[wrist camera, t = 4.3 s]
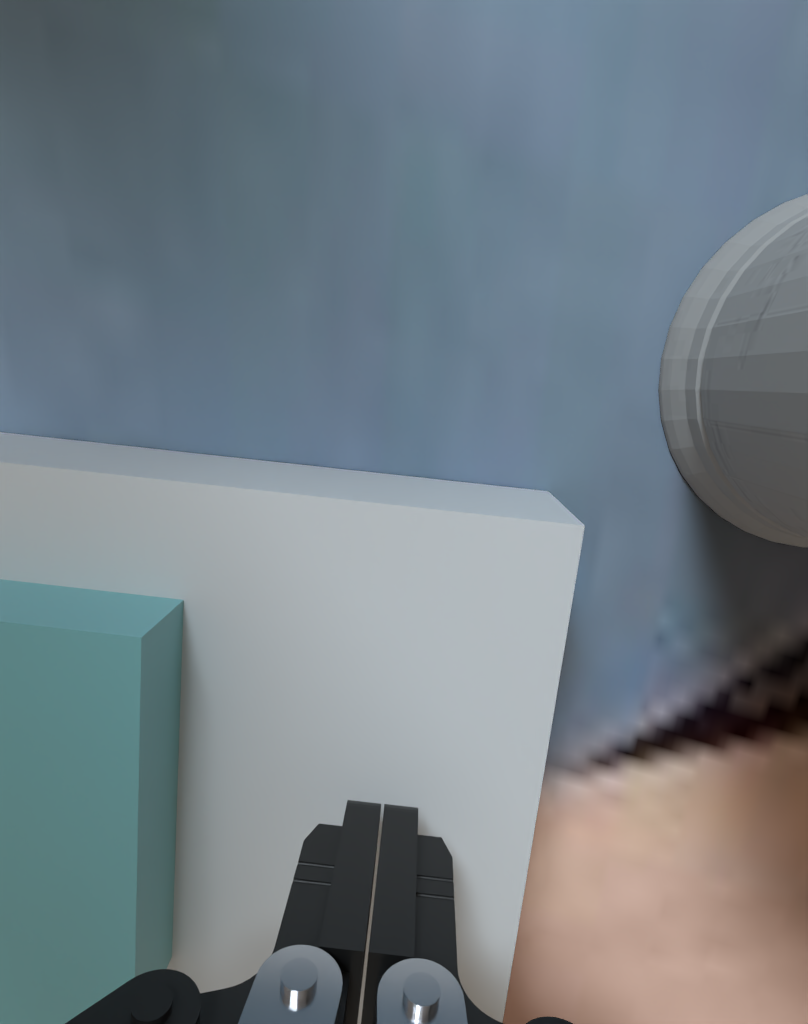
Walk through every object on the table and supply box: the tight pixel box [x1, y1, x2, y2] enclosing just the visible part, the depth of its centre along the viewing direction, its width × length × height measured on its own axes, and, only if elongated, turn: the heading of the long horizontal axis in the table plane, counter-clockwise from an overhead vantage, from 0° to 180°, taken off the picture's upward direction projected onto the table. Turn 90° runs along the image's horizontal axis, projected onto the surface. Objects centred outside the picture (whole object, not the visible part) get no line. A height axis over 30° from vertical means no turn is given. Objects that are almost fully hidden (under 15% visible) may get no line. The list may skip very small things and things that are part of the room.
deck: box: [0, 432, 585, 1024], centre depth 16 cm, size 14×20×4 cm
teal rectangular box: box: [0, 579, 184, 1024], centre depth 13 cm, size 9×6×2 cm, turn 174°
